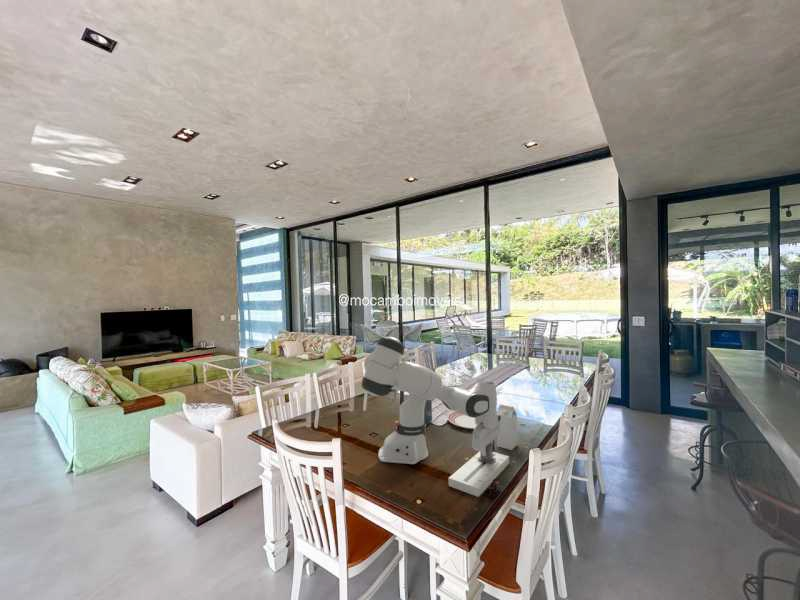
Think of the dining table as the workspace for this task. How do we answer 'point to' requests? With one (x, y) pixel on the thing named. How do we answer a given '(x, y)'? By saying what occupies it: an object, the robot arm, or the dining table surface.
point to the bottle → (428, 411)
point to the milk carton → (507, 427)
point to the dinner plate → (462, 420)
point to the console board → (478, 474)
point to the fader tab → (488, 455)
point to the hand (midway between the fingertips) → (486, 453)
